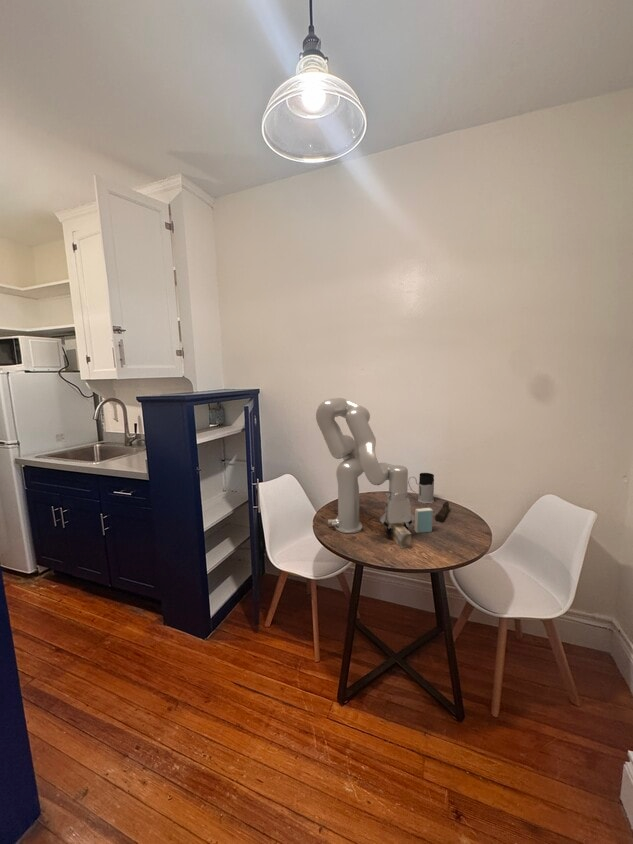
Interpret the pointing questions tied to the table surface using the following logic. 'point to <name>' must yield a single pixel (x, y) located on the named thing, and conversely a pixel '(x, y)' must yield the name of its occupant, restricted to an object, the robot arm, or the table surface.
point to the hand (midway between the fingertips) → (397, 535)
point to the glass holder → (425, 487)
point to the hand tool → (442, 512)
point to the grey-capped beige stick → (400, 535)
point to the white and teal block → (423, 520)
